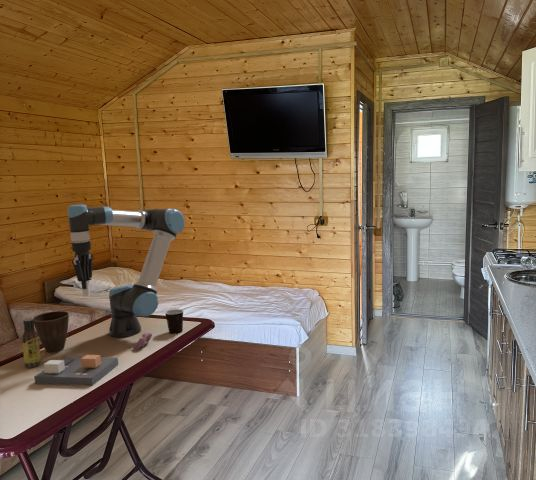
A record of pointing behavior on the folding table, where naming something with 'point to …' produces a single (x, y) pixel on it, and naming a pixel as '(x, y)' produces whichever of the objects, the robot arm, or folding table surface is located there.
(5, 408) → the folding table surface
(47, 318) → the plant pot
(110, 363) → the board
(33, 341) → the sauce bottle
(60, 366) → the block
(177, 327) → the coffee mug
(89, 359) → the block
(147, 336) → the pink lumpy piece
